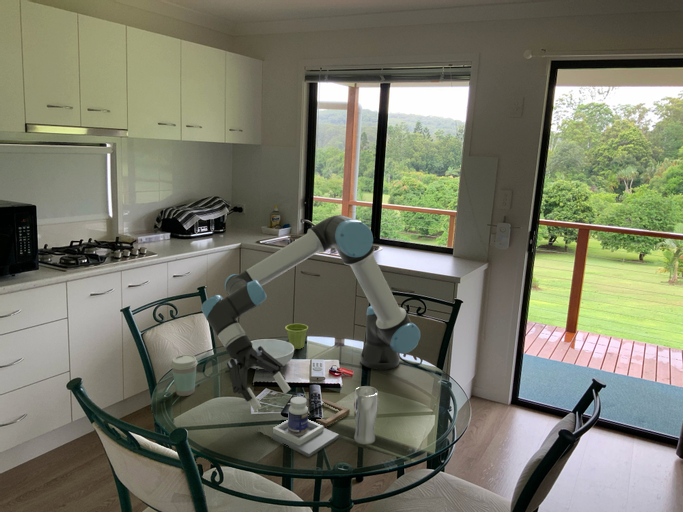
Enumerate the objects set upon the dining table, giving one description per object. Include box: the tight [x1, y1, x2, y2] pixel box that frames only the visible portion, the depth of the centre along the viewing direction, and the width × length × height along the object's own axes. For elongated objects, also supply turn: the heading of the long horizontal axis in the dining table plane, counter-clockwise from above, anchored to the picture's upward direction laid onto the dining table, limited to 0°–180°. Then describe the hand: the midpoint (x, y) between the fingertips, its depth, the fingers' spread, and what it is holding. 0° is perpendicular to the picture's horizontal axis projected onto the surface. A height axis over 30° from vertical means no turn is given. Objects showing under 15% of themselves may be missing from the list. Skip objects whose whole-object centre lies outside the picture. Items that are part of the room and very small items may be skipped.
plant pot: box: [284, 323, 309, 350], centre depth 224 cm, size 9×9×9 cm
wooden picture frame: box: [308, 397, 350, 428], centre depth 170 cm, size 12×12×2 cm
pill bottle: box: [287, 396, 308, 436], centre depth 157 cm, size 6×6×10 cm
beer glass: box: [353, 385, 379, 446], centre depth 155 cm, size 7×7×15 cm
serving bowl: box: [250, 338, 295, 370], centre depth 205 cm, size 21×21×7 cm
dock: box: [272, 419, 340, 458], centre depth 158 cm, size 13×20×2 cm, turn 52°
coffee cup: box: [170, 354, 199, 397], centre depth 181 cm, size 9×8×12 cm
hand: (273, 400), depth 161 cm, fingers open, 13 cm apart
